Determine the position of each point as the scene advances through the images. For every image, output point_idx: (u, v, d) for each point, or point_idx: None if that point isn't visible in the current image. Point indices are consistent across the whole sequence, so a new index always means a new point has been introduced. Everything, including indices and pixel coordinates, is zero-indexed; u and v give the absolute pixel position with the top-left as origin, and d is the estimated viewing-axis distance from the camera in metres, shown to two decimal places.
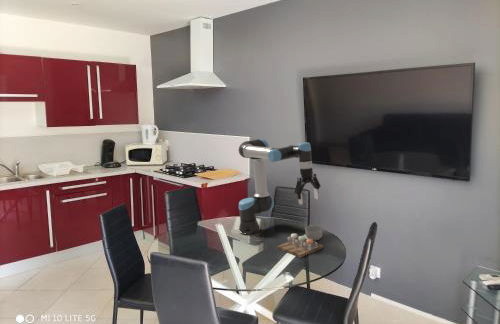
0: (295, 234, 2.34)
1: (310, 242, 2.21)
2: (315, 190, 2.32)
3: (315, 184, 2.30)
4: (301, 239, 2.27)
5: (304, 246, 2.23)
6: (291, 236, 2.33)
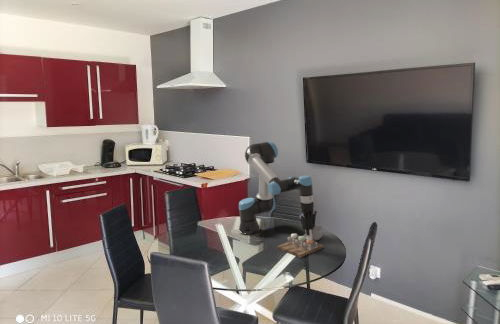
0: (295, 234, 2.34)
1: (310, 242, 2.21)
2: None
3: (311, 222, 2.21)
4: (301, 239, 2.27)
5: (304, 246, 2.23)
6: (291, 236, 2.33)
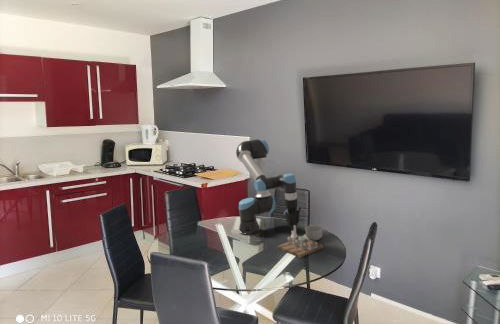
0: (295, 235, 2.34)
1: None
2: None
3: (295, 218, 2.32)
4: (301, 239, 2.27)
5: (304, 246, 2.23)
6: (291, 237, 2.33)
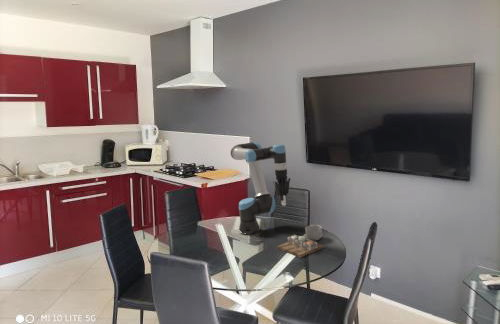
0: (295, 236, 2.34)
1: None
2: None
3: (285, 189, 2.36)
4: (301, 239, 2.27)
5: (304, 246, 2.23)
6: None
